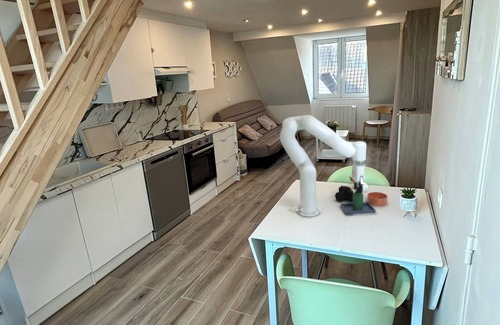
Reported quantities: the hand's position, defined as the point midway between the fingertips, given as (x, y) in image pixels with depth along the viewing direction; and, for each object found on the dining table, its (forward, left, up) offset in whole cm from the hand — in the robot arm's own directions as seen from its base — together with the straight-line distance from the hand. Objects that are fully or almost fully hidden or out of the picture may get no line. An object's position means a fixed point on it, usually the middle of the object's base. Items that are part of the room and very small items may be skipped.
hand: (358, 191), depth 187 cm
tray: (0, 0, -13) cm, 13 cm away
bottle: (0, 0, -12) cm, 12 cm away
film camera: (-4, +17, -13) cm, 22 cm away
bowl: (+15, +8, -13) cm, 21 cm away
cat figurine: (+10, +34, -13) cm, 38 cm away
